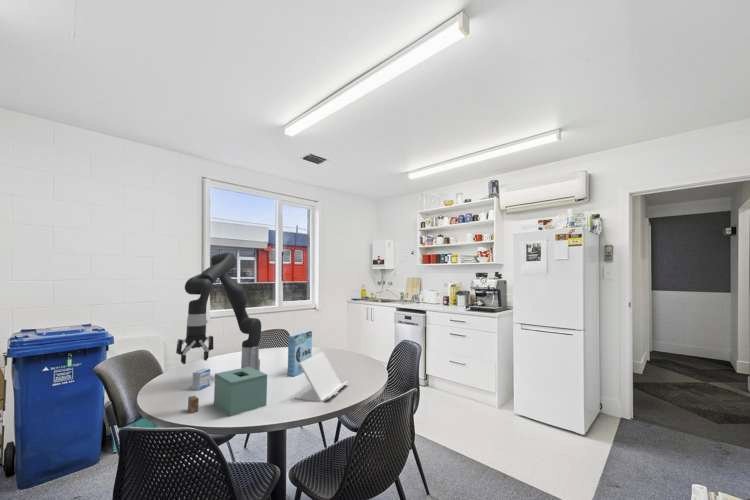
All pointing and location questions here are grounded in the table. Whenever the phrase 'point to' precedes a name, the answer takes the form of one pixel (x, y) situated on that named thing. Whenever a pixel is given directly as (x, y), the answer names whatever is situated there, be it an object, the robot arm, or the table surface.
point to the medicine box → (201, 379)
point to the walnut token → (193, 404)
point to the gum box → (298, 351)
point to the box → (240, 390)
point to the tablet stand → (319, 379)
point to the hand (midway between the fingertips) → (194, 362)
